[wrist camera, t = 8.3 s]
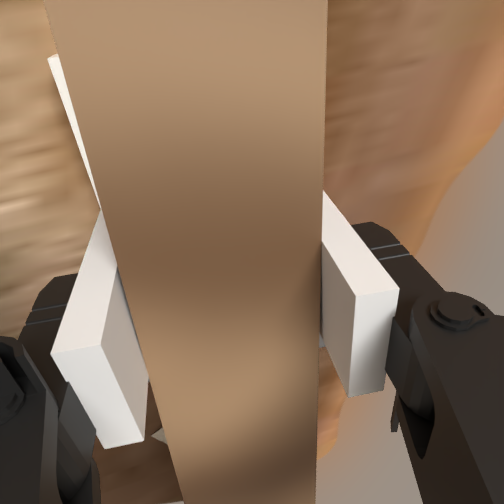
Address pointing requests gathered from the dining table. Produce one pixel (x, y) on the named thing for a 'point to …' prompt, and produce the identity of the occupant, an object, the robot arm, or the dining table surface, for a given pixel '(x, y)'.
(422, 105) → the dining table surface
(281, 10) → the walnut batten
